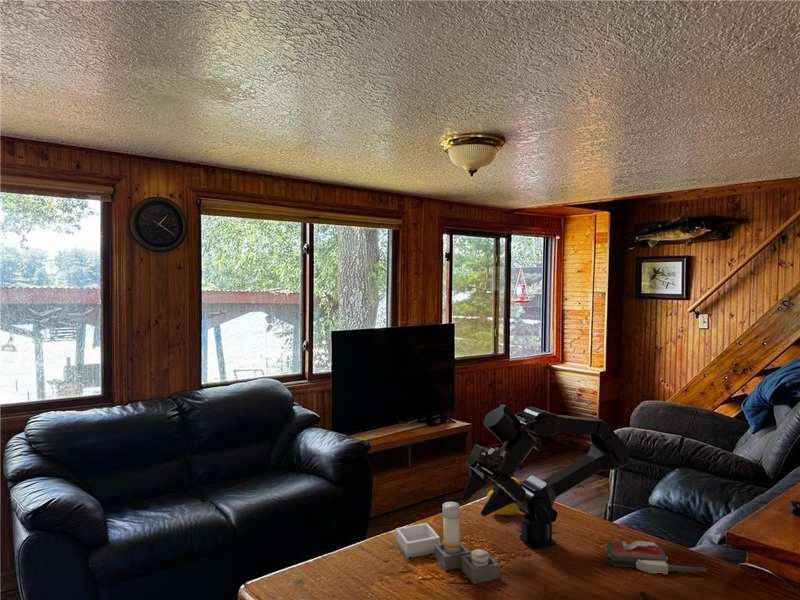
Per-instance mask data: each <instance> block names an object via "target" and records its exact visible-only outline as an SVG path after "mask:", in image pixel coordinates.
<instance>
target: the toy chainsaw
mask: <svg viewBox="0 0 800 600" xmlns="http://www.w3.org/2000/svg"><path fill="white" fill-rule="evenodd" d="M606 553H607V556H608V557H606V563H607V564H609V565H612V566H614V567H624V568H636V569H637V570H640V571H642V572H644V573H647V572H648V573H647V574H657V573H663V574H662V575H666V574H668V575H669V572H670V573H671V572H684V573H692V572H705V573H706V572H707V569H706V568H705V567H697V566H685V565H684V566H683V565H682V566H681V565H673V564H670V563H667V561H669V558H668V556H667V555H666V550H665V549H664V548H661V546H660V545H659V544H656V543H655V542H654V541H645V540H635V541H633V542H631V543H630V542H628V543H626V541H621V542H611V541H609V542H607V543H606Z"/></svg>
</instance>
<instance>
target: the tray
mask: <svg viewBox="0 0 800 600" xmlns="http://www.w3.org/2000/svg"><path fill="white" fill-rule="evenodd" d="M395 543H396V545H397V546H398V547H399V549H400V550H401V552H402V551H403V552H402V553H403V554H405V555H404V556H405V558H406V559H410V558H409V557H412V558H416V557H415V556H417V557H422V556H425V555H426V556H427V555H431V553H432V554H435V552H434V545H435V544H440V543H441V538H440V536H439V535H438V534H437V533H436V531H435V530H434V529H433V528H432V527H431V526H430V525H429V523H428V522H424V523H419V524H414V525H413V524H412V525H408V526H402V527H397V528H395Z"/></svg>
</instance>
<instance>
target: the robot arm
mask: <svg viewBox="0 0 800 600" xmlns="http://www.w3.org/2000/svg"><path fill="white" fill-rule="evenodd" d="M483 426H484V427H485V428H486V429H488V431H489V432H491V434H493V435H494V436H495V438H497V439H498V440H499V441H500V442H504V443H503V445H502V446H501V447H499V446H496V447H494V448H493V447H490V448H488V447H484V446H481V445H479V444H476V443H475V444H474V445H473V448H472V451H471V453H470V456H469V457H468V458H467V459H466V461H465V464H467V465H466V466H465V467H466V469H467V472H468V477H467V480H466V482H465V486H464V489H463V492H462V495H461V498H460V499H461V500H462V501H464V502H466V501H467V500H469V498H471V497H472V496H473V495H475V494H476V493H477V492H478V491H480V490H481V488H483V487H484V486H485V485H487V484H488V482H487V481H488V480H489V479H491V480H492V481H493V482H494V483H493V489H492V490H493V494H492V495H491V497H490V498H489V500H488V501H487V500H486V504H484V506H483V508H482V509H481V511H480V515H481V516H482V517H486V516H488V515H490V514H493V513H495V512H494V511H496V510H498V509H500V508H503V507H505V506H508V505H510V504H512V503H514V504H516V505H517V506H518V508H519V511H518V512H521V513H522V514H523V515H522V522H521V524H520V529H521V531H520V532H521V533H520V534H519V539H520V540H522V541H523V542H524V543H525V544H526V545H528V546H529V547H530V548H531V549H533V550H536V549H540V548H546V547H549V546H556V545H557V542H556V541H555V540H554V539H553V523H554V522H556V521H557V517H558V511H557V510H556V509H555V508H554V507H553V505H554V503H555V502H556V499H557V497H559V496H561V495H563V494H564V493H566V492H568V491H569V490H571V489H573V488H575V487H576V486H578V485H580V484H581V483H583V482H585V481H586V480H588V479H590V478H591V477H594V475H597V474H598V473H600V472H605V471H615V470H617V469H620V468H623V467H625V466H626V465H628V463H629V460H630V458H631V457H630V456H631V452H630V449H629V447H628V446H627V445H626V444H625V442H624V440H622V439H621V437H620V436H618V434H616V432H614V430H613V429H612V427H611V425H610V424H609V422H607V421H605V420H603V419H600V418H598V417H593V416H592V417H583V416H576V415H575V416H574V415H564V414H554V413H552V412H549V411H547V410H543V409H540V408H537V407H534V406H528V407H526V408H525V409H524V410H523V411H521V412H518V413H515V414H514V413H513V412H512V411H511V409H510V408H509V407H508V406H507V405H505V404H503V403H502V404H500V405H499V406H498V407H496V408H494V409H492V410H491V411H489V412H488V413H487V414H486V415H485V416H484V419H483ZM522 428H523V430H522ZM530 432H531V433H533V434H535V435H538V436H540V437H547V436H554V435H556V434H559V433H566V434H567V433H568V434H578V435H579V434H580V435H581V434H582V435H589V441H590V443H591V447H590V449H589V451H588V452H587V454H586V455H584V456H582V457H581V458H579V459H577V460H575V461H574V462H573V461H572V463H570V464H568V465H566V466H565V467H563V468H562V469H560V470H558V471H556V472H554V473H553V474H552V473H551V475H549V476H547V477H546V478H544V479H541V478H539V477H538V476H535V475H530V476H529V477H527V478H526V479H524V480H522V481H520V480H519V483H520V485H519V484H518V483H517V482H516V481H515V480H514V479H513V478H511V477H513V475H514V474H515V472H516V471H517V470H519V471H522V470H523V468H524V466H523V465H522V463H523V462H524V460H525V459H526V458H527V456H528V455H529V454H530V452H531V451H532V449H533V448H534V449H535V450H537V451H538V452H541V451H542V450H543V448H542V444H541V438H539V437H537V436H533V435H532V434H531V433H530ZM498 484H499V485H501V486H498Z"/></svg>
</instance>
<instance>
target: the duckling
mask: <svg viewBox="0 0 800 600" xmlns="http://www.w3.org/2000/svg"><path fill="white" fill-rule="evenodd" d="M511 478H513V479H514V480H515V481H516V482H517V483H518V484H519V485H520V483H519V482H520V480H518V479H517V478H516V477H514V476H511ZM497 485H498V486H501V485H499V484H498V483H497ZM492 494H493V489H492V490H489V491H488V493H487V495H486V502H487V501H488V500H489V498H490V497H491V495H492ZM518 512H520V511H519V508H518V506H517V505H516V504H514V503H512V504H510V505H508V506H505V507H503V508H500V509H498V510H496V511H494V512H493V513H495V514H498V515H500V516H513V515H516V514H517V513H518Z"/></svg>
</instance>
